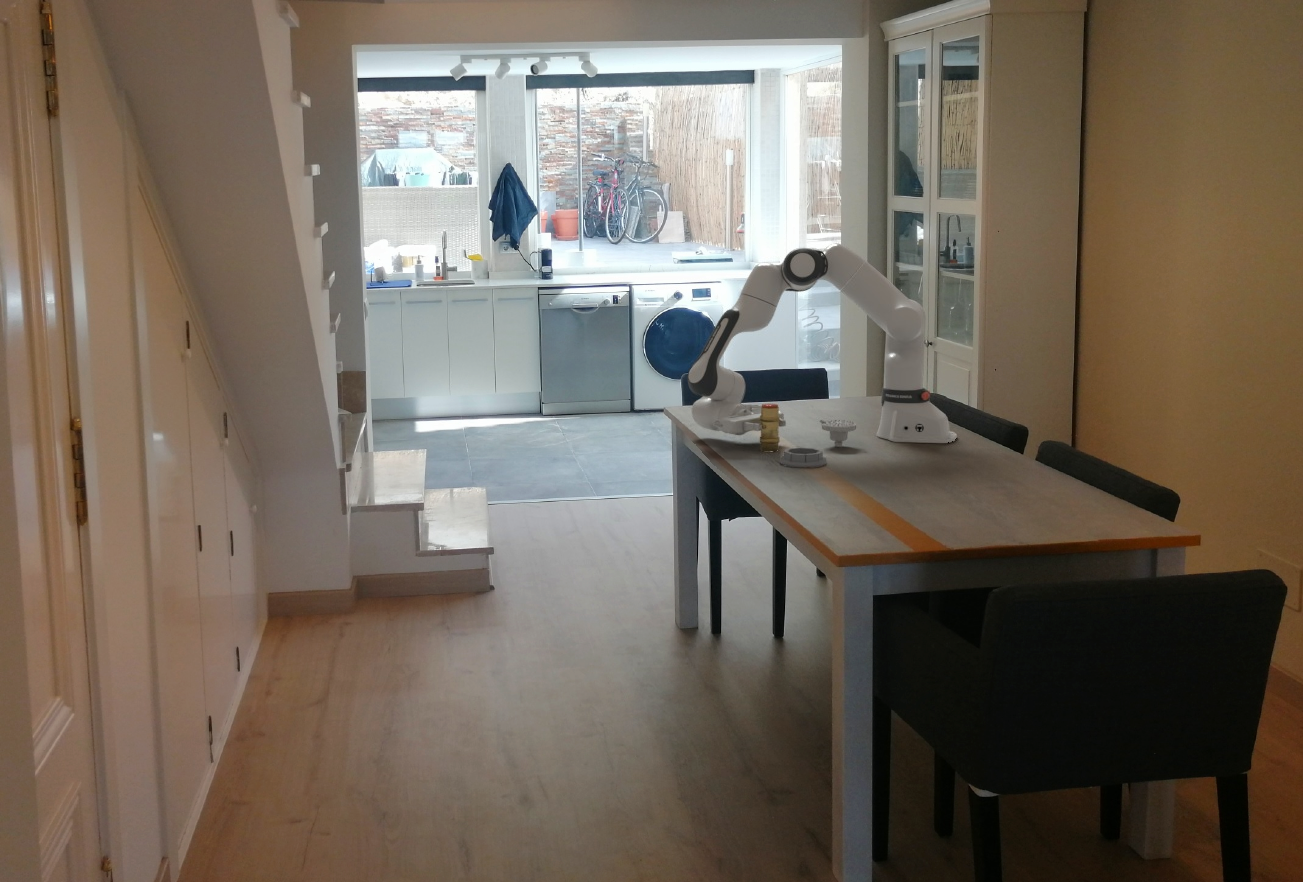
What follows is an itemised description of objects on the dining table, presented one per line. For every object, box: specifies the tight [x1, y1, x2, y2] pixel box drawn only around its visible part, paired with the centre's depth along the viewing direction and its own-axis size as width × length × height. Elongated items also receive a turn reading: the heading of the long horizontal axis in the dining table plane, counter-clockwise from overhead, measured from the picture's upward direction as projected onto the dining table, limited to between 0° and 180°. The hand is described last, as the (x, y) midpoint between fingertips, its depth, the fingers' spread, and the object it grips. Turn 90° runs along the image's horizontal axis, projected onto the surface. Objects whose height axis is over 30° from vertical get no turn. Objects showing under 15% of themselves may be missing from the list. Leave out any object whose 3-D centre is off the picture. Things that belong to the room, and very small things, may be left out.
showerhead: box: [819, 419, 857, 448], centre depth 348 cm, size 9×7×10 cm
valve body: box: [759, 403, 781, 452], centre depth 342 cm, size 5×5×13 cm
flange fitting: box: [779, 446, 827, 468], centre depth 327 cm, size 12×12×3 cm
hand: (772, 425), depth 341 cm, fingers open, 8 cm apart
